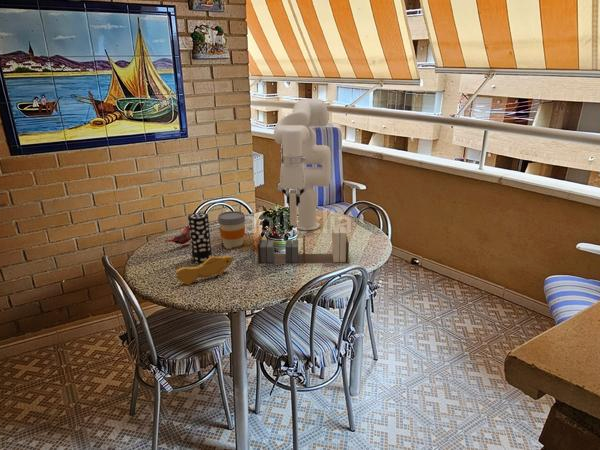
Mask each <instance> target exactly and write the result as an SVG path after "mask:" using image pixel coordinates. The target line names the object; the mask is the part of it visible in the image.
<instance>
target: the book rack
mask: <svg viewBox="0 0 600 450" xmlns="http://www.w3.org/2000/svg"><path fill="white" fill-rule="evenodd" d="M261 242H262V235H261V234H259V236H258V240H257V242H256V249H257V265H288V264H289V265H291V264H293V265H297V264H299V265H300V264H301V265H303V264H305V265H306V264H311V265H312V264H314V265H315V264H321V265H322V264H325V265H327V264H350V262H349V253H350V252H349V251H350V242H349V239H348V234H347V233H346V262H340V261H339V262H333V257H332V253H306V235H305V234H303V236H302V253H298V262H294V263H292V262H291V263H286V255H285V253H274V260H273V263H261V258H260V245H261Z"/></svg>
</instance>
